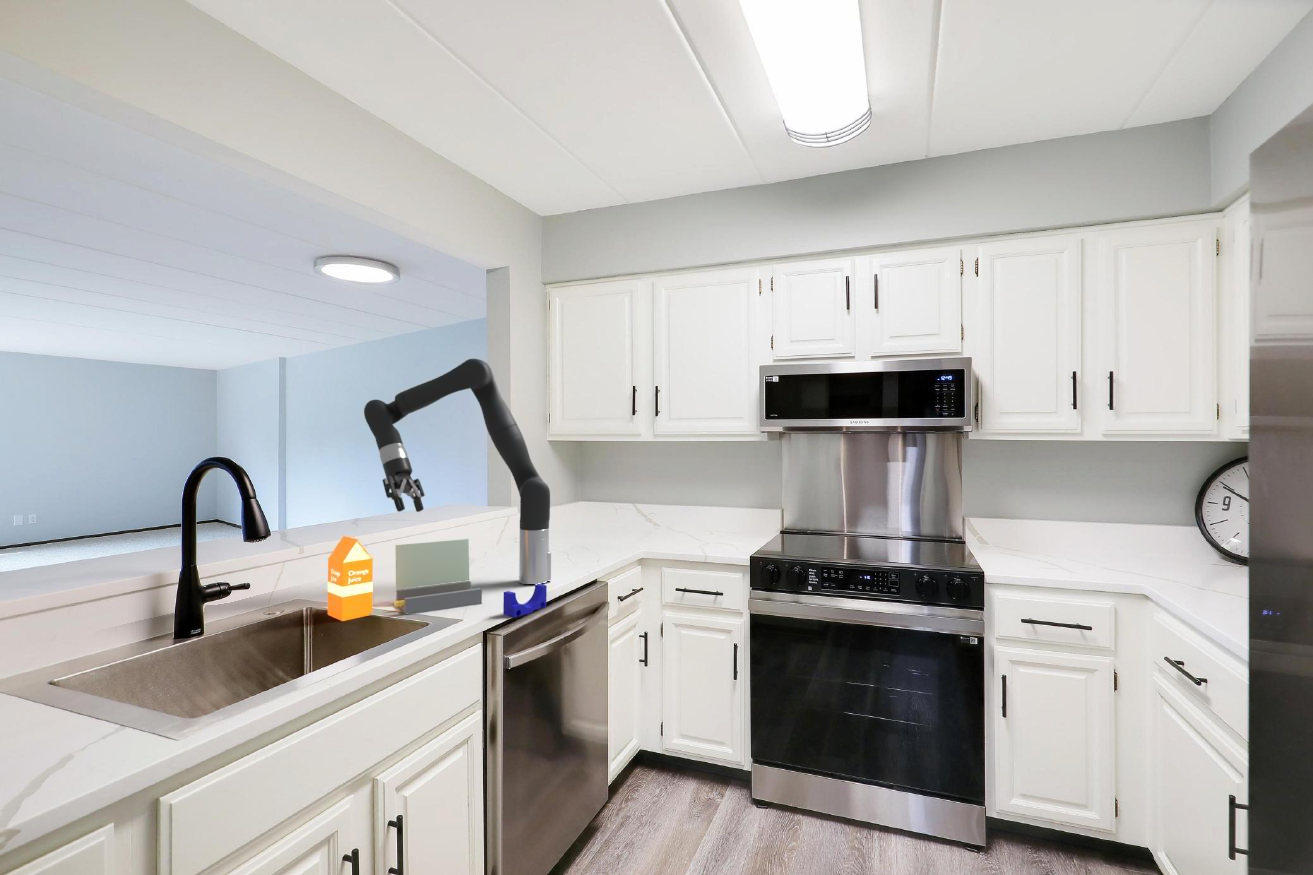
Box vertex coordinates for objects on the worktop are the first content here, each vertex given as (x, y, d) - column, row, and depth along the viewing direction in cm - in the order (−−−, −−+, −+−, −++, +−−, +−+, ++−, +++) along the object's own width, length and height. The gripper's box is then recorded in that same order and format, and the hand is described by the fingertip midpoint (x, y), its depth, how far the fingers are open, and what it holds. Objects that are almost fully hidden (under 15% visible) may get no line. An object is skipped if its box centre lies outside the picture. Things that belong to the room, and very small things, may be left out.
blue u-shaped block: (514, 618, 154) (514, 594, 154) (503, 615, 156) (503, 592, 156) (550, 608, 163) (550, 586, 163) (539, 605, 166) (539, 583, 166)
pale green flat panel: (469, 580, 176) (468, 579, 177) (468, 539, 177) (467, 538, 178) (396, 589, 165) (395, 588, 166) (396, 545, 166) (395, 545, 167)
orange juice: (357, 608, 161) (358, 534, 161) (372, 614, 156) (373, 537, 156) (326, 614, 155) (327, 537, 155) (341, 621, 150) (342, 541, 150)
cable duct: (472, 593, 177) (472, 580, 177) (485, 602, 167) (485, 588, 167) (389, 605, 164) (389, 590, 164) (397, 615, 154) (398, 600, 154)
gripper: (389, 454, 174) (405, 505, 171) (420, 458, 188) (436, 506, 184) (368, 464, 176) (384, 515, 172) (401, 468, 189) (416, 515, 186)
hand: (411, 510), depth 178 cm, fingers open, 8 cm apart
